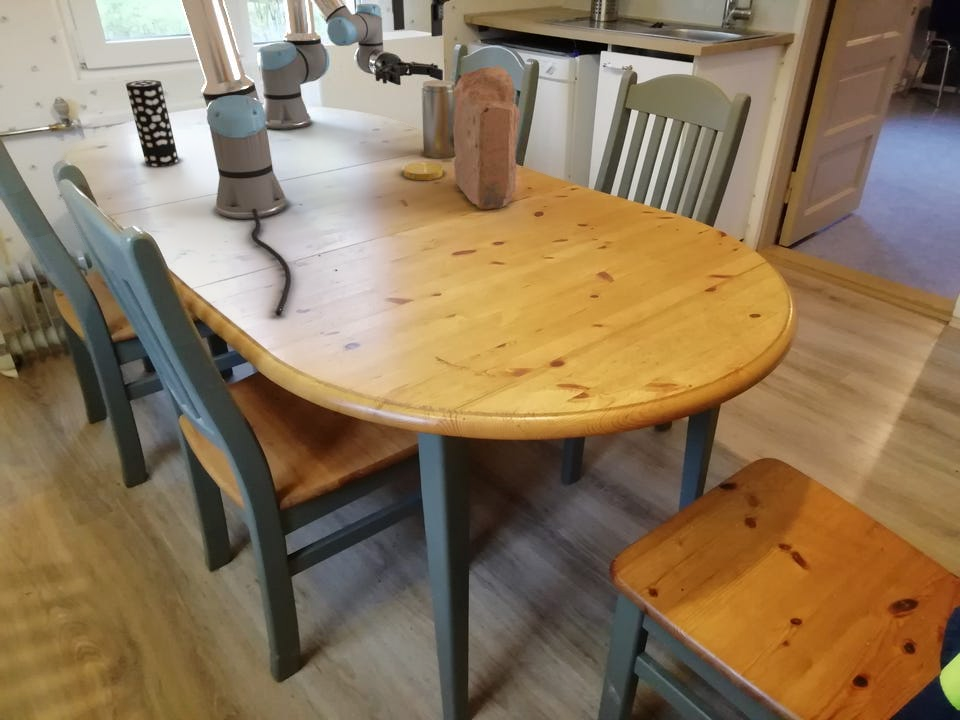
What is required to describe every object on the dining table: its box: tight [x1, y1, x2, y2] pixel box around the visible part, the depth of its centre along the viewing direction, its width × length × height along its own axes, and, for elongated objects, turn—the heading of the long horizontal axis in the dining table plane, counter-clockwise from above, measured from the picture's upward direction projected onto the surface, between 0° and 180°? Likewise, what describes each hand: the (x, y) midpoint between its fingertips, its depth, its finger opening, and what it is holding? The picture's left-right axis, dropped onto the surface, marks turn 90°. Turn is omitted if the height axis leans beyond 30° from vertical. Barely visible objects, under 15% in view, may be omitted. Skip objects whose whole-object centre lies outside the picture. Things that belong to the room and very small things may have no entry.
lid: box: [403, 161, 444, 181], centre depth 180 cm, size 10×10×2 cm
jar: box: [421, 79, 456, 159], centre depth 191 cm, size 9×9×19 cm
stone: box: [453, 66, 520, 210], centre depth 159 cm, size 22×11×28 cm, turn 18°
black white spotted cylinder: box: [125, 79, 179, 167], centre depth 181 cm, size 8×8×20 cm
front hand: (417, 32), depth 162 cm, fingers open, 13 cm apart
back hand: (420, 77), depth 193 cm, fingers open, 13 cm apart
